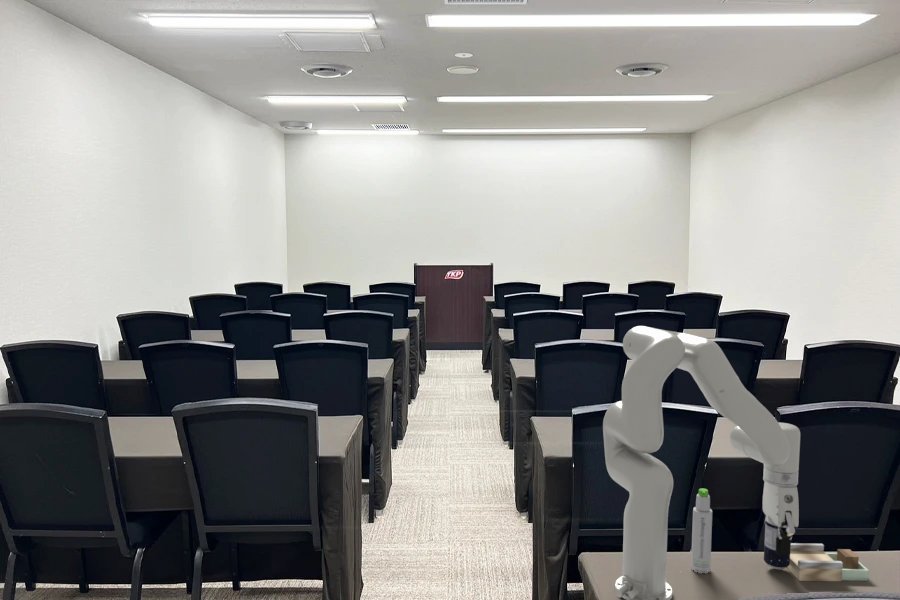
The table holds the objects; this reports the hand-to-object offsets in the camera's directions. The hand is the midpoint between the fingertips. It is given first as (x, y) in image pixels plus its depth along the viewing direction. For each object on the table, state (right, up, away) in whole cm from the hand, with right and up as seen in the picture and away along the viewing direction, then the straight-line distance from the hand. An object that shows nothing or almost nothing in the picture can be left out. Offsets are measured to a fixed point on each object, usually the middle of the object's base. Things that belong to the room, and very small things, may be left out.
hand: (777, 547), depth 170 cm
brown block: (+15, -3, 0) cm, 16 cm away
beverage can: (0, -5, +1) cm, 5 cm away
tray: (+16, -6, 0) cm, 17 cm away
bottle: (-18, -6, +1) cm, 19 cm away
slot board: (+8, -6, 0) cm, 10 cm away
